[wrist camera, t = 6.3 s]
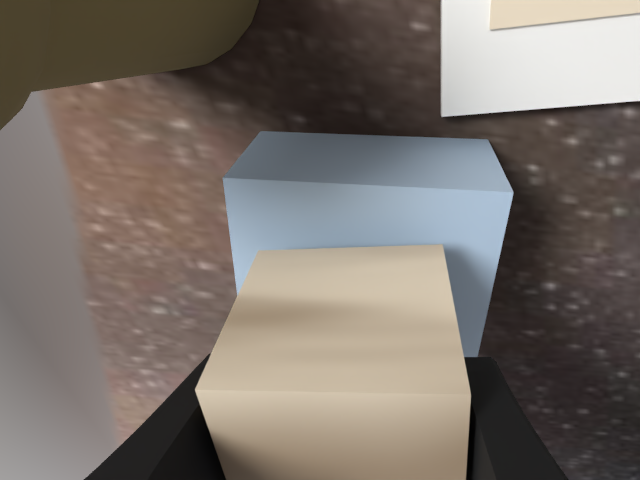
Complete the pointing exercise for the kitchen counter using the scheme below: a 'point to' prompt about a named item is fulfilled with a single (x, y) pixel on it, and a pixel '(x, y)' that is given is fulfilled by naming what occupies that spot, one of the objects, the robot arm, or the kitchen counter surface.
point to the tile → (538, 54)
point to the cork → (108, 41)
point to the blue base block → (375, 204)
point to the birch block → (340, 369)
